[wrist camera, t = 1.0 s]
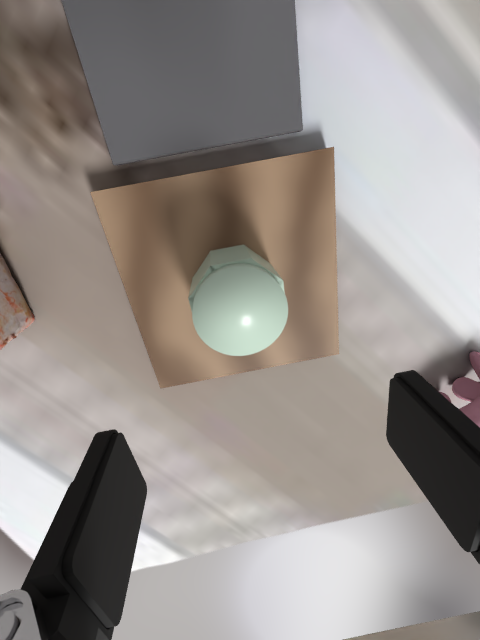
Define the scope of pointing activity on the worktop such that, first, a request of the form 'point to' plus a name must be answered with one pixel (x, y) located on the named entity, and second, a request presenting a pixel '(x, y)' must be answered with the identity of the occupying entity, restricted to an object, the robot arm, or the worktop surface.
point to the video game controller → (469, 390)
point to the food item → (11, 307)
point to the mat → (188, 72)
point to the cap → (237, 301)
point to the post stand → (222, 232)
